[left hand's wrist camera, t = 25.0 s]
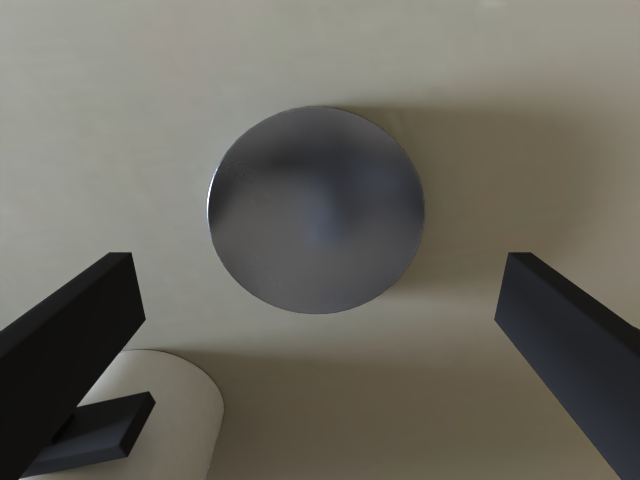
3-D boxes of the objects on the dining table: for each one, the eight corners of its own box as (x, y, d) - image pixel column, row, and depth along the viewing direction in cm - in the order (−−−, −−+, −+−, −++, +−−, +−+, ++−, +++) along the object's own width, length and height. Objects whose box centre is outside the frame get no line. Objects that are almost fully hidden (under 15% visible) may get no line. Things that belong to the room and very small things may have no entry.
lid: (293, 324, 21) (291, 344, 19) (175, 185, 18) (160, 195, 16) (449, 235, 19) (462, 249, 17) (347, 58, 16) (350, 54, 14)
